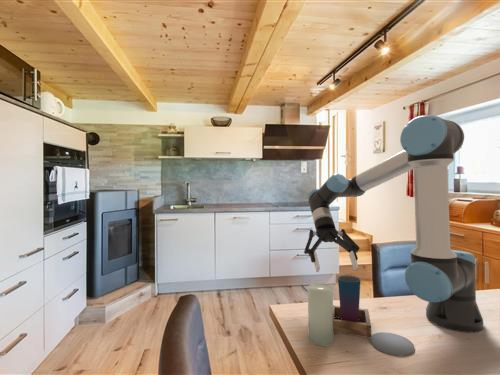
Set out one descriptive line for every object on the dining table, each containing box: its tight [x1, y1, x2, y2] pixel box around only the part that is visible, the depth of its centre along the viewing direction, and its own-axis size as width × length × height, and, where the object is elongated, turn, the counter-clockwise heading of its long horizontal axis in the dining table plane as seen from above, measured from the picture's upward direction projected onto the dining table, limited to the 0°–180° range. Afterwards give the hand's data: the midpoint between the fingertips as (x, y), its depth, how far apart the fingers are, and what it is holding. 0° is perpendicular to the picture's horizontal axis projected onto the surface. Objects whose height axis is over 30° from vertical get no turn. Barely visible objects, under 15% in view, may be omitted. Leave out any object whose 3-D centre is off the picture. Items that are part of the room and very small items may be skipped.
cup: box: [337, 274, 361, 322], centre depth 90 cm, size 7×7×15 cm
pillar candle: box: [307, 283, 334, 347], centre depth 83 cm, size 7×7×15 cm
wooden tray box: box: [333, 304, 372, 339], centre depth 90 cm, size 12×12×4 cm
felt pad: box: [369, 331, 415, 357], centre depth 79 cm, size 11×11×1 cm
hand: (337, 269), depth 99 cm, fingers open, 13 cm apart
